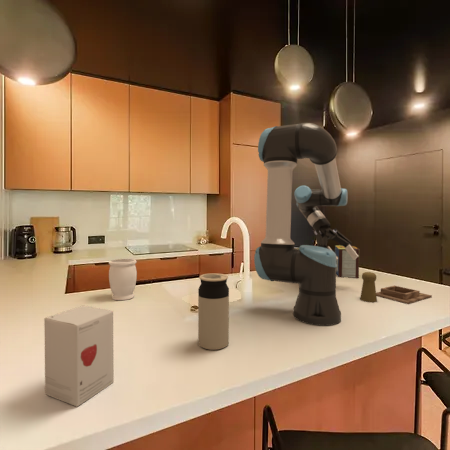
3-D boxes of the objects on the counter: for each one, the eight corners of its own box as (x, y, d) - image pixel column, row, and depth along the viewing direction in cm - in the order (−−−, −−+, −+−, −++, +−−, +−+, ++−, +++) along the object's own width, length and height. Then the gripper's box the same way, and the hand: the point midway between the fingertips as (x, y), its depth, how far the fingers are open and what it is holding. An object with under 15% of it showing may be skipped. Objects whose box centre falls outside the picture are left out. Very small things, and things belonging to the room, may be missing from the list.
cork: (379, 302, 115) (379, 274, 114) (362, 301, 116) (362, 273, 116) (374, 298, 121) (375, 271, 120) (358, 297, 122) (359, 270, 122)
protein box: (353, 272, 172) (354, 245, 171) (358, 278, 157) (359, 249, 156) (334, 271, 174) (334, 245, 173) (337, 277, 159) (338, 248, 159)
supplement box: (76, 408, 53) (75, 325, 52) (43, 395, 56) (41, 317, 56) (115, 382, 61) (114, 309, 60) (84, 372, 65) (83, 303, 64)
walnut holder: (408, 304, 113) (408, 296, 113) (373, 295, 125) (373, 288, 125) (431, 297, 123) (431, 290, 122) (397, 289, 135) (397, 282, 134)
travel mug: (204, 353, 73) (204, 280, 73) (194, 340, 81) (194, 274, 80) (233, 347, 77) (234, 278, 76) (221, 335, 84) (221, 272, 83)
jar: (115, 303, 113) (114, 263, 112) (105, 297, 120) (104, 260, 120) (141, 298, 120) (141, 260, 119) (130, 292, 127) (130, 257, 127)
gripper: (332, 227, 148) (358, 262, 136) (295, 228, 135) (320, 267, 123) (341, 217, 143) (369, 251, 131) (304, 217, 130) (331, 256, 118)
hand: (346, 259), depth 127 cm, fingers open, 13 cm apart
